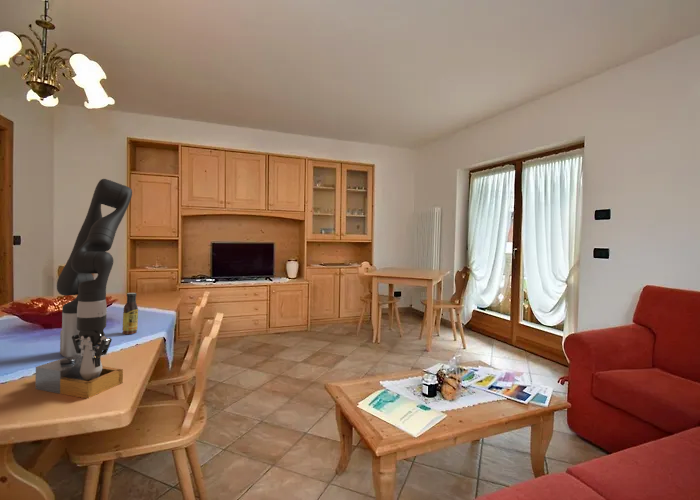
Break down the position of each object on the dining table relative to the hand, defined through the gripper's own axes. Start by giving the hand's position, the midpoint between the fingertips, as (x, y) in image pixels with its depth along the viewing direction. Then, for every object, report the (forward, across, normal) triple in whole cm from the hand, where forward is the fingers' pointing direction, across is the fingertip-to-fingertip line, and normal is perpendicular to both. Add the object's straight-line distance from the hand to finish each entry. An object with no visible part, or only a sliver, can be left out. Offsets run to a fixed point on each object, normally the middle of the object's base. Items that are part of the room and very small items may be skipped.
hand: (91, 367), depth 109 cm
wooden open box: (+7, -5, 0) cm, 8 cm away
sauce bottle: (+7, -39, +52) cm, 66 cm away
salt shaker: (+3, 0, 0) cm, 3 cm away
